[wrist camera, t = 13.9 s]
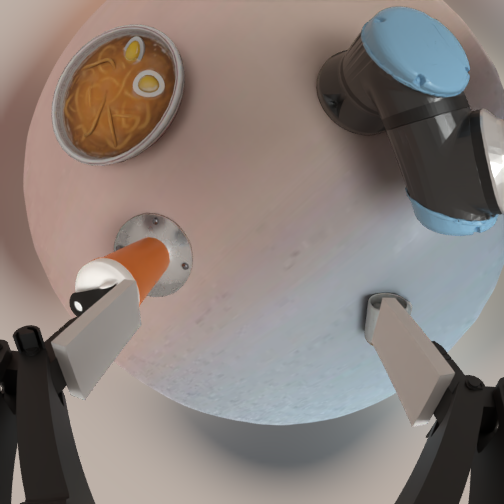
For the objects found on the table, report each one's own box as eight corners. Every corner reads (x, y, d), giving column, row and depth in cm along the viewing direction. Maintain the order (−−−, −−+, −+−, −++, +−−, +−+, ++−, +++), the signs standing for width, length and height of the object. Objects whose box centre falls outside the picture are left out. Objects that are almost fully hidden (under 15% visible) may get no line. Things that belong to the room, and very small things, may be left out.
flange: (120, 206, 46) (118, 206, 45) (200, 224, 47) (198, 225, 46) (113, 283, 50) (111, 284, 49) (185, 304, 51) (184, 306, 50)
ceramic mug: (358, 332, 51) (371, 354, 44) (362, 294, 49) (377, 313, 42) (405, 325, 51) (421, 345, 43) (411, 288, 49) (430, 305, 41)
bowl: (201, 38, 38) (188, 11, 28) (195, 162, 44) (177, 159, 34) (89, 60, 39) (61, 45, 29) (80, 171, 45) (47, 173, 35)
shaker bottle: (121, 241, 47) (52, 280, 28) (163, 224, 46) (103, 258, 27) (140, 286, 49) (85, 344, 30) (183, 272, 48) (139, 332, 29)
